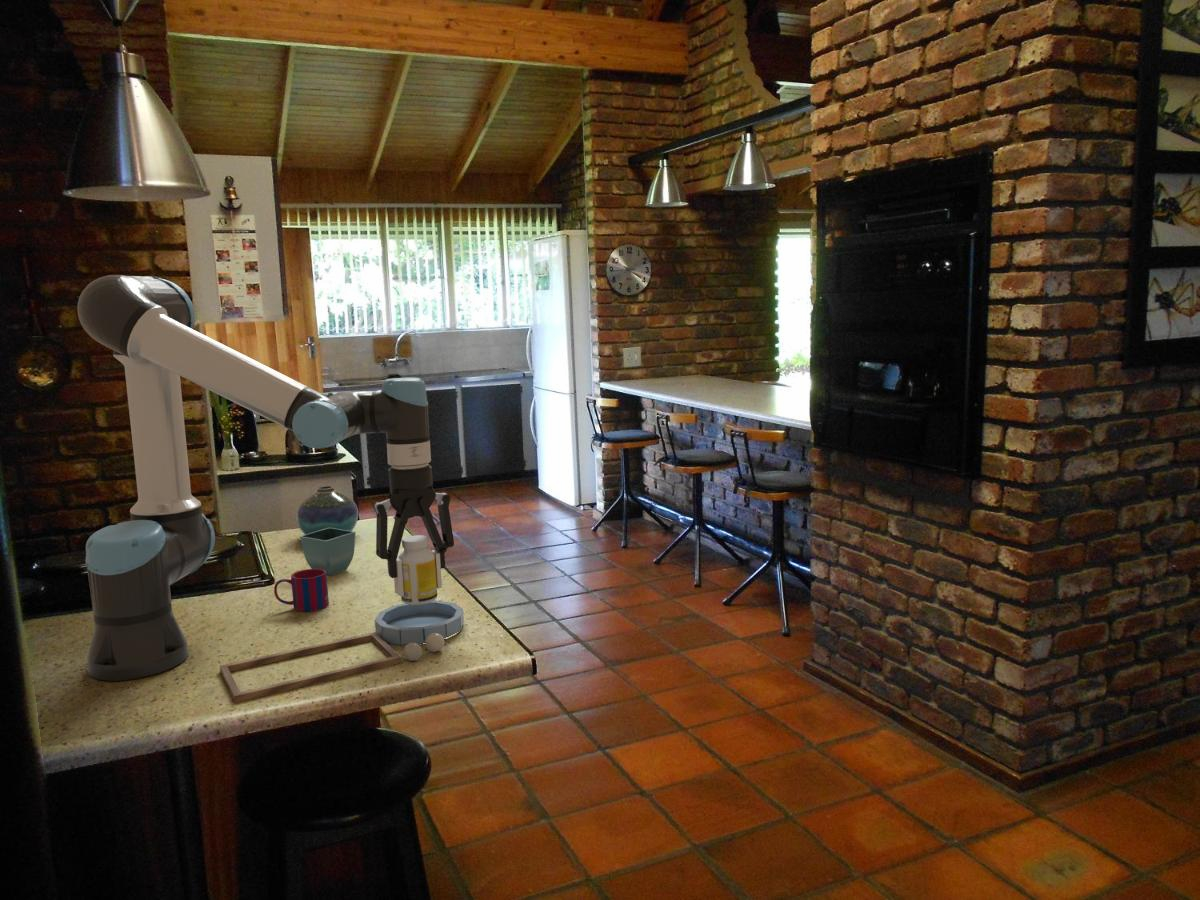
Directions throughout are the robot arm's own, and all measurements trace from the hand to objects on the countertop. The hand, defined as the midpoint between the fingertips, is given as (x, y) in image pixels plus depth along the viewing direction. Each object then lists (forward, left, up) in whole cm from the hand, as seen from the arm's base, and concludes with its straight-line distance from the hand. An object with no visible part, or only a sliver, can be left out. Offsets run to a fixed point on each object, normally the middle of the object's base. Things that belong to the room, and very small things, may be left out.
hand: (418, 589), depth 161 cm
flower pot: (-4, +47, -8) cm, 48 cm away
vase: (+4, +79, -8) cm, 80 cm away
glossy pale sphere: (-6, -13, -8) cm, 16 cm away
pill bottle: (0, 0, -2) cm, 2 cm away
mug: (-15, +26, -8) cm, 31 cm away
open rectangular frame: (-21, -6, -8) cm, 23 cm away
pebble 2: (-2, -11, -8) cm, 14 cm away
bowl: (0, 0, -8) cm, 8 cm away
